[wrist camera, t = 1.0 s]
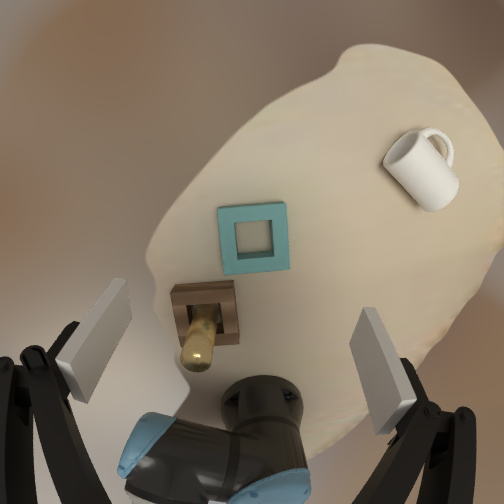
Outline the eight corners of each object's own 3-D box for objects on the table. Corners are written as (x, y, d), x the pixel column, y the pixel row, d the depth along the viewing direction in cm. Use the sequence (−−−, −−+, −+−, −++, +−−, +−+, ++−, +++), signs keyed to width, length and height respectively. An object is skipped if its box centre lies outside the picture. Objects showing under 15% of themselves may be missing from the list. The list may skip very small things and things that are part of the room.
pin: (220, 319, 46) (213, 371, 32) (198, 320, 46) (183, 372, 32) (217, 298, 45) (208, 346, 31) (194, 299, 45) (177, 347, 31)
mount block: (239, 332, 47) (239, 344, 43) (184, 336, 46) (180, 347, 43) (233, 280, 44) (232, 288, 41) (175, 284, 44) (169, 293, 41)
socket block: (286, 262, 44) (289, 269, 41) (225, 267, 44) (224, 275, 41) (282, 201, 42) (286, 203, 39) (219, 206, 42) (217, 209, 38)
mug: (414, 209, 43) (443, 216, 35) (374, 167, 41) (400, 166, 33) (448, 158, 41) (477, 157, 33) (412, 116, 39) (439, 107, 32)
